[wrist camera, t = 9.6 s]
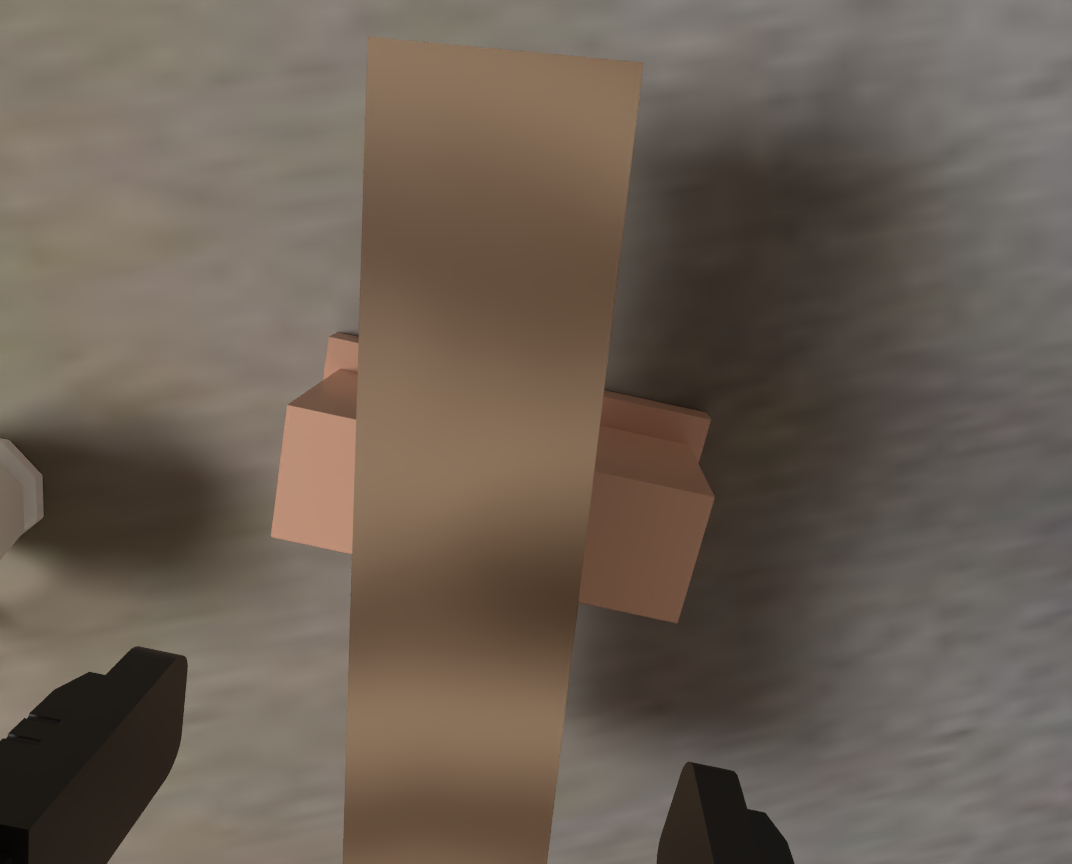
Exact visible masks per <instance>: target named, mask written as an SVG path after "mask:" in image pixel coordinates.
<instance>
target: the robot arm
mask: <svg viewBox="0 0 1072 864" xmlns="http://www.w3.org/2000/svg"><path fill="white" fill-rule="evenodd" d="M187 667H188V665H187V659H186V657H185V656H182V655H178V654H173V653H168V652H163V651H158V650H153V649H149V648H144V647H138V646H137V647H134V648H132V649H131V650H130V651H129V652H128V653H127V654H126V655H125V656H124V657H123V658H122V659H121V660H120V661H119V662H118V663H117V664H116V665H115V666H114V667H113V668H112V669H111V670H110V671H109V672H108V673H107V674H106V675H102V674H97V673H93V672H88V673H86V674H84V675H82V676H80V677H78V678H76V679H74V680H72V681H71V682H69V683H67V684H65V685H63V686H61V687H59V688H57V689H55V690H54V691H53V692H51V693H50V694H49V695H48V696H47V697H46V698H45V699H44V700H43V701H42V702H41V703H40V704H39V705H38V706H37V707H36V708H35V709H34V710H32V711H31V712H30V713H29V717H28V718H27V719H26V718H24V719H23V720H22V721H21V722H20V723H19V724H18V725H17V726H16V727H15V728H14V729H12V730H11V731H10V732H9V733H8V737H7V738H6V739H2V740H1V741H0V864H107V862H108V861H109V859H110V858H111V857H112V855H113V854H114V852H115V851H116V849H117V848H118V847H119V845H120V844H121V842H122V841H123V839H124V838H125V837H126V835H127V834H128V832H129V831H130V829H131V828H132V827H133V825H134V824H135V822H136V821H137V819H138V818H139V817H140V815H141V814H142V812H143V811H144V809H145V808H146V807H147V805H148V804H149V802H150V801H151V799H152V798H153V797H154V795H155V794H156V792H157V791H158V789H159V788H160V786H161V785H162V784H163V782H164V781H165V779H166V778H167V776H168V774H169V772H170V770H171V768H172V766H173V764H174V761H175V759H176V756H177V753H178V750H179V746H180V741H181V735H182V724H183V713H184V702H185V691H186V680H187ZM657 864H794V861H793V858H792V855H791V852H790V849H789V846H788V843H787V841H786V840H785V838H784V837H783V836H782V834H781V833H780V832H779V830H778V829H777V828H776V826H775V825H774V824H773V822H772V821H771V820H770V818H769V817H768V816H767V814H766V813H764V812H759V811H755V810H750V809H747V807H746V803H745V800H744V796H743V793H742V789H741V786H740V782H739V779H738V776H737V774H736V773H735V772H734V771H731V770H726V769H722V768H717V767H712V766H707V765H702V764H697V763H693V762H687V763H686V764H685V765H684V767H683V769H682V772H681V775H680V778H679V781H678V784H677V787H676V791H675V794H674V797H673V800H672V803H671V806H670V809H669V812H668V816H667V819H666V822H665V825H664V828H663V831H662V834H661V838H660V842H659V847H658V854H657Z"/></svg>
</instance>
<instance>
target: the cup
mask: <svg viewBox="0 0 1072 864" xmlns="http://www.w3.org/2000/svg"><path fill="white" fill-rule="evenodd" d="M43 517H44V510H43V477H42V474H41V473H40V472H39V471H38V470H37V469H36V468H35V467H34V466H33V465H32V463H31V462H30V461H29V460H28V459H27V458H26V457H25V456H24V455H23V454H22V453H21V452H20V451H19V450H18V449H17V447H16V446H15V445H14V444H13V443H12V442H11V441H10V440H8V439H1V438H0V560H1V558H2V557H3V556H4V555H5V554H6V552H7V551H8V550H9V549H10V548H11V547H12V545H13V544H14V543H15V542H16V541H17V539H18V538H19V537H20V536H21V535H22V534H23V533H25V532H26V531H27V530H28V529H30V528H31V527H32V526H33V525H35V524H36V523H37V522H38V521H40V520H41V519H42V518H43Z"/></svg>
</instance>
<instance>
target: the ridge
mask: <svg viewBox="0 0 1072 864" xmlns="http://www.w3.org/2000/svg"><path fill="white" fill-rule="evenodd" d="M358 345H359V337H358V336H353V335H348V334H344V333H339V332H337V333H335V334H333V335H331V336H329V340H328V347H327V354H326V362H325V369H324V376H323V381H321V382H320V383H318V384H317V385H316V386H314V387H313V388H311V389H310V390H308V391H307V392H305V393H304V394H302V395H301V396H300V397H298V398H297V399H295V400H294V401H292V402H291V403H289V404H288V405H287V412H286V420H285V427H284V435H283V443H282V451H281V459H280V467H279V475H278V483H277V491H276V499H275V507H274V515H273V523H272V531H271V537H274V538H279V539H283V540H288V541H293V542H297V543H302V544H307V545H311V546H316V547H321V548H326V549H330V550H335V551H340V552H344V553H349V554H352V542H353V509H354V477H355V444H356V411H357V378H358ZM710 422H711V419H710V417H709V416H708V414H707V413H706V412H702V411H698V410H693V409H688V408H684V407H679V406H675V405H670V404H665V403H661V402H656V401H652V400H647V399H643V398H638V397H633V396H629V395H624V394H620V393H615V392H610V391H606V390H604V395H603V403H602V411H601V419H600V428H599V436H598V444H597V452H596V461H595V469H594V477H593V486H592V494H591V502H590V510H589V519H588V527H587V535H586V544H585V552H584V560H583V568H582V577H581V585H580V593H579V603H584V604H588V605H593V606H598V607H603V608H607V609H612V610H617V611H621V612H626V613H631V614H635V615H640V616H645V617H650V618H654V619H659V620H664V621H668V622H673V623H678V620H679V617H680V614H681V610H682V607H683V603H684V600H685V597H686V593H687V590H688V587H689V583H690V580H691V576H692V573H693V570H694V566H695V563H696V560H697V556H698V553H699V549H700V546H701V543H702V539H703V536H704V533H705V529H706V526H707V522H708V519H709V516H710V512H711V509H712V506H713V502H714V499H715V496H714V494H713V492H712V490H711V488H710V486H709V484H708V482H707V480H706V478H705V476H704V474H703V472H702V470H701V468H700V466H699V461H700V457H701V454H702V450H703V447H704V443H705V440H706V436H707V433H708V429H709V426H710Z"/></svg>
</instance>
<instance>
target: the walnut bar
mask: <svg viewBox="0 0 1072 864" xmlns="http://www.w3.org/2000/svg"><path fill="white" fill-rule="evenodd" d="M642 72H643V63H641V62H631V61H620V60H610V59H599V58H588V57H578V56H567V55H557V54H546V53H535V52H525V51H514V50H503V49H493V48H482V47H472V46H461V45H450V44H440V43H429V42H418V41H408V40H397V39H387V38H376V37H368V48H367V81H366V114H365V147H364V180H363V213H362V246H361V279H360V312H359V345H358V378H357V411H356V444H355V477H354V509H353V542H352V575H351V608H350V641H349V674H348V707H347V740H346V773H345V806H344V839H343V864H547V858H548V850H549V842H550V833H551V825H552V817H553V809H554V800H555V792H556V784H557V775H558V767H559V759H560V751H561V742H562V734H563V726H564V717H565V709H566V701H567V693H568V684H569V676H570V668H571V660H572V651H573V643H574V635H575V626H576V618H577V610H578V602H579V593H580V585H581V577H582V568H583V560H584V552H585V544H586V535H587V527H588V519H589V510H590V502H591V494H592V486H593V477H594V469H595V461H596V452H597V444H598V436H599V428H600V419H601V411H602V403H603V395H604V386H605V378H606V370H607V361H608V353H609V345H610V337H611V328H612V320H613V312H614V303H615V295H616V287H617V279H618V270H619V262H620V254H621V245H622V237H623V229H624V221H625V212H626V204H627V196H628V187H629V179H630V171H631V163H632V154H633V146H634V138H635V129H636V121H637V113H638V105H639V96H640V88H641V80H642Z"/></svg>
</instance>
